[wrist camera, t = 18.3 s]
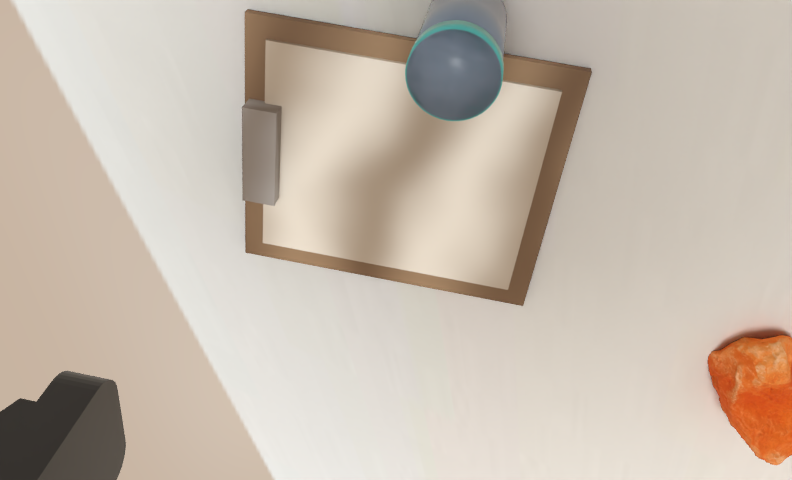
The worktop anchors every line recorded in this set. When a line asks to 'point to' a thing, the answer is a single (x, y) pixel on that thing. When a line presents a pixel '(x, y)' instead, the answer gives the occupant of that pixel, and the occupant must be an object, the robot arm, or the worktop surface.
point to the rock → (757, 393)
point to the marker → (458, 58)
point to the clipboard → (397, 161)
